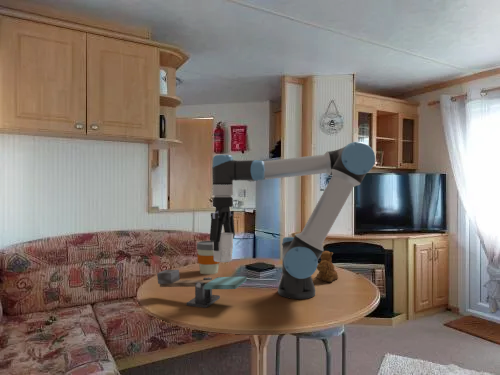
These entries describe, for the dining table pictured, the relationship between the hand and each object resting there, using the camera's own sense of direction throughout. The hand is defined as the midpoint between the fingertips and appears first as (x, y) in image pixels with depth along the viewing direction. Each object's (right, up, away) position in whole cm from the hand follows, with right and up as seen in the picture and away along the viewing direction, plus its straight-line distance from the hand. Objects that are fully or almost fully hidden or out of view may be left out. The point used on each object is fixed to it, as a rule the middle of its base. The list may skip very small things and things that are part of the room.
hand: (222, 257), depth 134 cm
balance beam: (-9, -11, +1) cm, 14 cm away
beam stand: (-7, -17, +1) cm, 18 cm away
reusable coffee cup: (-11, -17, +47) cm, 51 cm away
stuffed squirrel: (+46, -17, +34) cm, 60 cm away
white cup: (0, -1, 0) cm, 1 cm away
